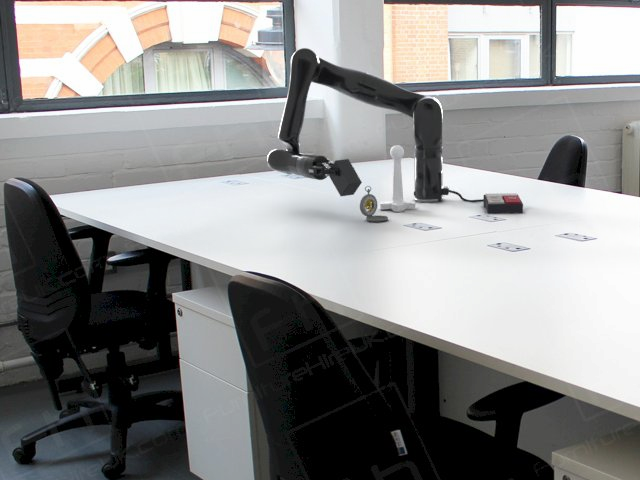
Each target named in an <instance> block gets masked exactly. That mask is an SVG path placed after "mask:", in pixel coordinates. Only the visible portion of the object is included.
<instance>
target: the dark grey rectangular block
mask: <svg viewBox="0 0 640 480" xmlns="http://www.w3.org/2000/svg"><path fill="white" fill-rule="evenodd" d="M333 162H334V164H333V165H332V167H331V168H336V169H339V172H340V175H339V176H328V177H329V178H330V180H331V182H332V184H333V185H334V188H335V189H336V191H337V193H338V194H339V197H347V196H354V195H355V194H356V192H357V191H358V189H359V187H360V186H361V185H362V183H363V181H362V180H361V178H360V176H359V174H358V173H357V171H356V170H355V167H354V166H353V164H352V163H351V161H350V159H349V158H345V159H337V160H336V159H335V161H333ZM353 167H354V168H353Z"/></svg>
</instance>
